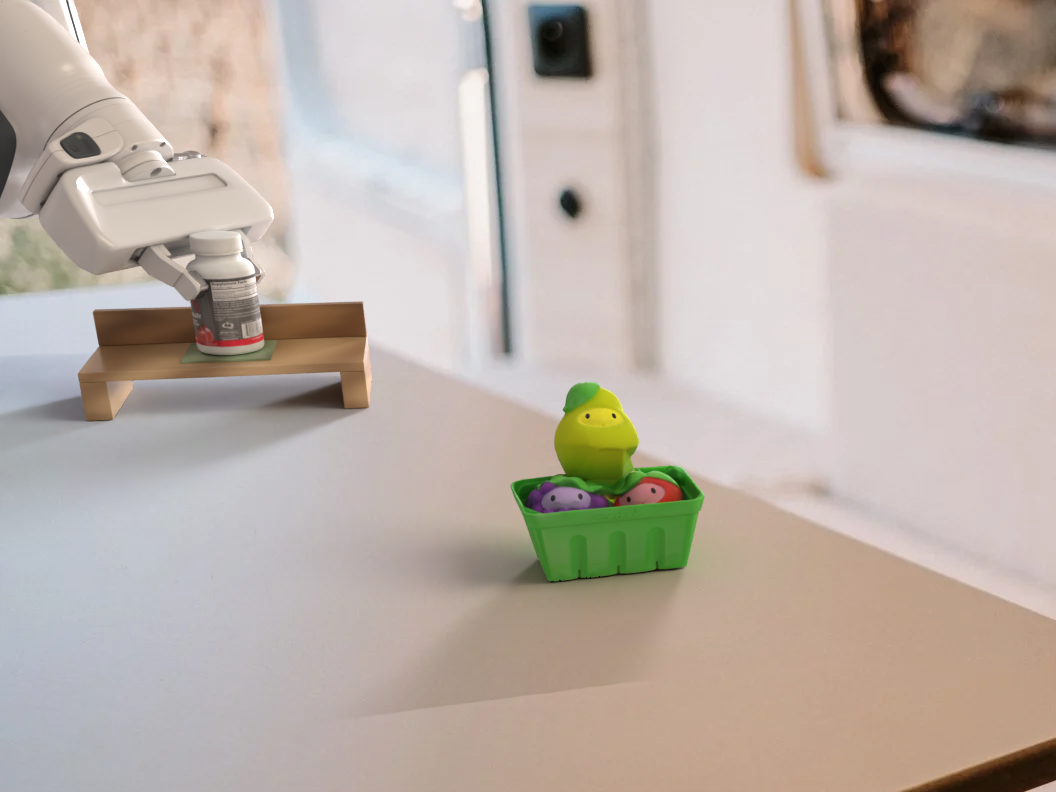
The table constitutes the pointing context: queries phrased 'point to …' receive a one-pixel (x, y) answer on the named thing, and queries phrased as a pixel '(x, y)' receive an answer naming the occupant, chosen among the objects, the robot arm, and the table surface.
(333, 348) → the bench
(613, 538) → the fruit basket
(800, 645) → the table surface
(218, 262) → the pill bottle
